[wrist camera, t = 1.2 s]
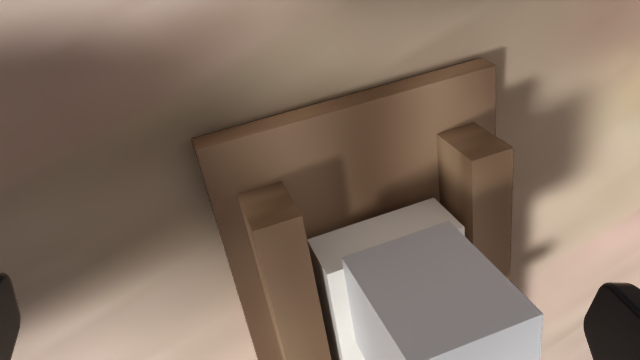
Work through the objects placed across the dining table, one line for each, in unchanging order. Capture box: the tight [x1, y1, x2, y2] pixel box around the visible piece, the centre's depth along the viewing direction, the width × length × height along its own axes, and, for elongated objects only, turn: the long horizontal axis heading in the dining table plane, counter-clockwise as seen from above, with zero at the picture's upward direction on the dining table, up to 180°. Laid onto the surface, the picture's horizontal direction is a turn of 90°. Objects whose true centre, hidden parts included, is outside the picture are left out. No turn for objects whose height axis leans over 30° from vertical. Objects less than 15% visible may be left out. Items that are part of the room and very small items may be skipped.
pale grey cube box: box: [307, 198, 543, 360], centre depth 20 cm, size 7×8×7 cm
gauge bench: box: [192, 58, 514, 360], centre depth 24 cm, size 11×22×4 cm, turn 9°
